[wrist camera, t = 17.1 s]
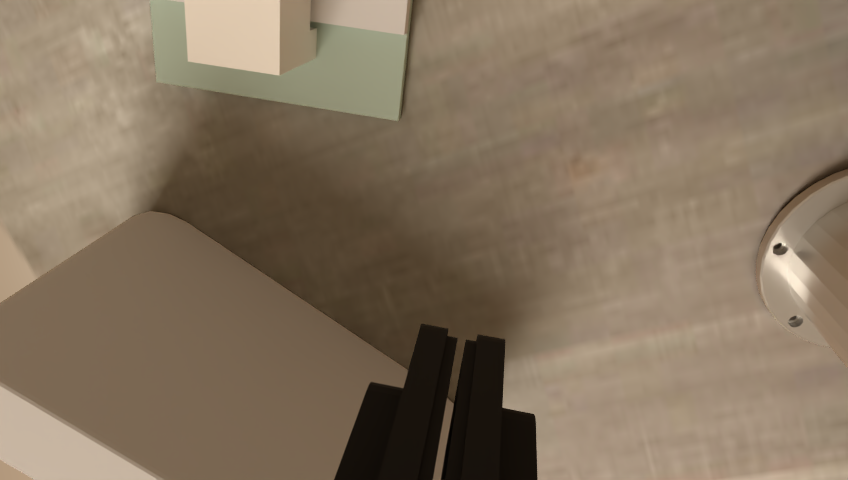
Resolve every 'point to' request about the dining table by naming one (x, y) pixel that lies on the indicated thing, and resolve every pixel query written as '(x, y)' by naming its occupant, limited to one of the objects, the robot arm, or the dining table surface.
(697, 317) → the dining table surface
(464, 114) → the dining table surface
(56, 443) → the grey rounded block
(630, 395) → the dining table surface
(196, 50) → the block
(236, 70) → the rail board
